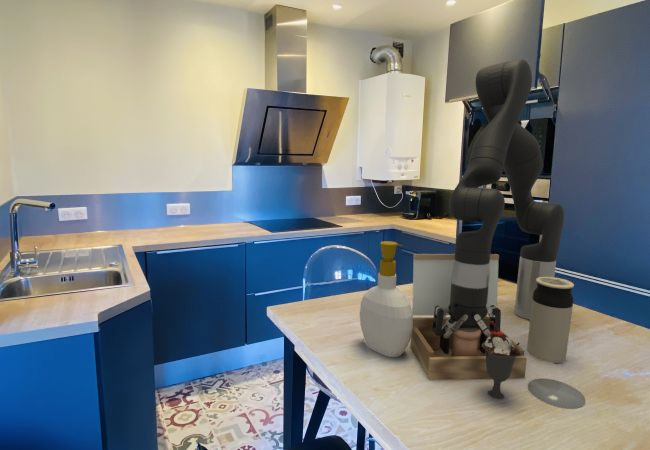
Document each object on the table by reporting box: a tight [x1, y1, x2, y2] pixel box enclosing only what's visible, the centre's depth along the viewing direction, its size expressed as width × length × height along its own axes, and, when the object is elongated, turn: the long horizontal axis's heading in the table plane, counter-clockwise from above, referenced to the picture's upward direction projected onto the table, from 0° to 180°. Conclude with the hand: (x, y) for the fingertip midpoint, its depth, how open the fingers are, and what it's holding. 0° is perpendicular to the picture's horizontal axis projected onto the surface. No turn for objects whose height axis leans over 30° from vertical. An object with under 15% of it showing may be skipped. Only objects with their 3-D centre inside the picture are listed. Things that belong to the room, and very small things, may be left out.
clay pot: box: [451, 323, 481, 357], centre depth 88 cm, size 6×6×8 cm
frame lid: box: [411, 253, 500, 317], centre depth 93 cm, size 20×14×1 cm
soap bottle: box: [359, 240, 414, 358], centre depth 92 cm, size 14×9×26 cm, turn 41°
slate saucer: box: [527, 378, 586, 410], centre depth 77 cm, size 10×10×1 cm
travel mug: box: [526, 276, 575, 364], centre depth 91 cm, size 8×8×18 cm
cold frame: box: [409, 316, 528, 381], centre depth 88 cm, size 20×14×8 cm
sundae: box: [482, 321, 521, 400], centre depth 75 cm, size 7×7×15 cm
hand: (463, 352), depth 88 cm, fingers open, 8 cm apart
